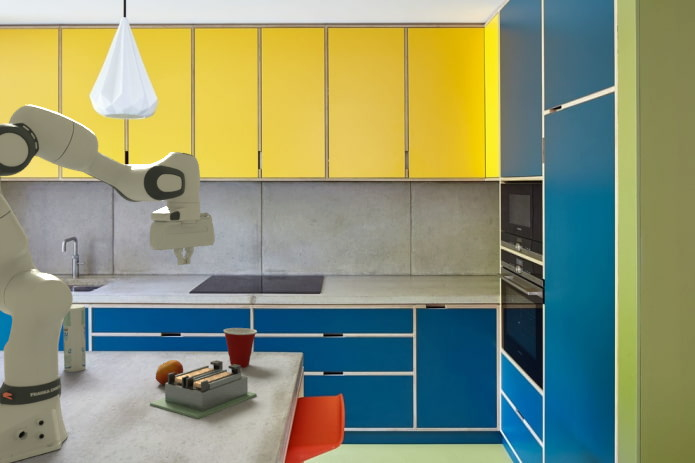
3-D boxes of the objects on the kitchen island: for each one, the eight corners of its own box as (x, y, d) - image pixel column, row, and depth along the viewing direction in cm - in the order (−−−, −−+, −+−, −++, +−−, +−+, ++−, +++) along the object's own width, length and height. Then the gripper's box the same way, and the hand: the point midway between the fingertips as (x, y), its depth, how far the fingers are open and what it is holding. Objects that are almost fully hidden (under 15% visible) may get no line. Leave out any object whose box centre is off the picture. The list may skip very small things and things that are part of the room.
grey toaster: (202, 412, 165) (202, 381, 165) (165, 401, 173) (164, 372, 172) (247, 394, 179) (247, 366, 179) (211, 385, 187) (211, 358, 186)
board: (197, 419, 162) (197, 416, 162) (150, 405, 172) (150, 402, 172) (256, 395, 180) (256, 393, 180) (210, 384, 190) (210, 382, 190)
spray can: (88, 369, 204) (87, 307, 202) (66, 373, 200) (64, 309, 199) (83, 365, 209) (82, 304, 208) (62, 368, 206) (60, 306, 204)
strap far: (182, 383, 171) (182, 379, 171) (174, 381, 172) (174, 377, 172) (214, 372, 181) (214, 369, 181) (207, 371, 182) (207, 367, 182)
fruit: (182, 384, 186) (168, 359, 186) (160, 396, 187) (147, 372, 188) (194, 376, 193) (181, 352, 194) (173, 387, 195) (160, 364, 195)
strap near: (200, 388, 167) (200, 384, 167) (193, 386, 169) (193, 382, 169) (233, 376, 177) (233, 373, 177) (225, 375, 179) (225, 371, 179)
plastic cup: (264, 364, 212) (264, 328, 211) (241, 372, 203) (241, 334, 202) (239, 359, 218) (239, 324, 217) (216, 366, 209) (216, 330, 208)
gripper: (203, 211, 184) (203, 260, 185) (145, 214, 167) (146, 267, 168) (219, 212, 181) (219, 261, 182) (162, 214, 164) (162, 269, 165)
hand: (184, 264), depth 175 cm, fingers closed
